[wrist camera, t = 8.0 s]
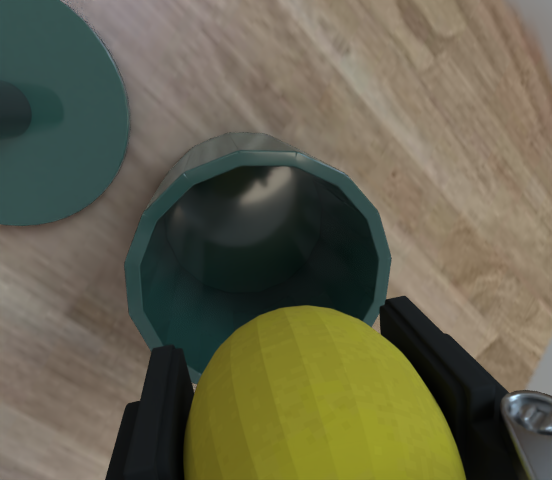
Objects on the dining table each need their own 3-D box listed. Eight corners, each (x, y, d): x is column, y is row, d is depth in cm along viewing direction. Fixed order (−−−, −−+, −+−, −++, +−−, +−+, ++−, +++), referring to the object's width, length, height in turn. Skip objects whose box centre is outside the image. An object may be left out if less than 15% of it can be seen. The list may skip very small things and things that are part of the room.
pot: (162, 299, 27) (136, 403, 18) (151, 129, 23) (112, 147, 14) (321, 293, 29) (374, 384, 19) (333, 134, 25) (406, 152, 16)
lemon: (306, 223, 11) (498, 458, 4) (395, 350, 13) (636, 670, 6) (152, 332, 12) (48, 743, 4) (260, 440, 14) (322, 854, 6)
